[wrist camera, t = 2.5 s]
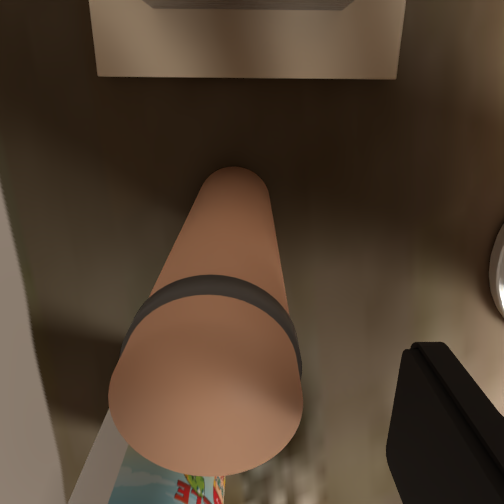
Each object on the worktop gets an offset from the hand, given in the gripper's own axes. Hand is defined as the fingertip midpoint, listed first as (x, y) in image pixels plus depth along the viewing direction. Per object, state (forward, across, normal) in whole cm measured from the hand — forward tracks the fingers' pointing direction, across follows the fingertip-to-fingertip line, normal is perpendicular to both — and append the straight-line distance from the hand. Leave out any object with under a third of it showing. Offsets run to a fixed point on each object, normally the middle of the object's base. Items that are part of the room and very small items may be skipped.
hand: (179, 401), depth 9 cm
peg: (+16, -1, 0) cm, 16 cm away
